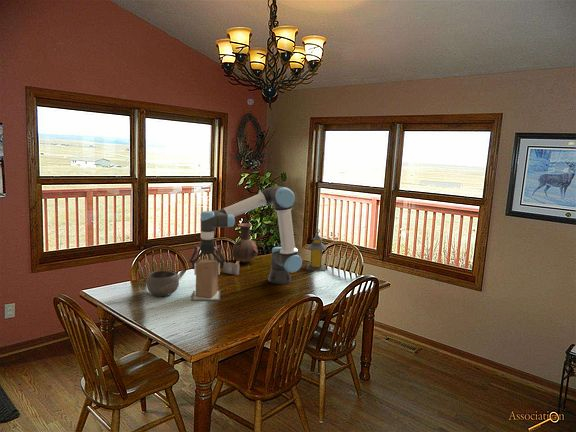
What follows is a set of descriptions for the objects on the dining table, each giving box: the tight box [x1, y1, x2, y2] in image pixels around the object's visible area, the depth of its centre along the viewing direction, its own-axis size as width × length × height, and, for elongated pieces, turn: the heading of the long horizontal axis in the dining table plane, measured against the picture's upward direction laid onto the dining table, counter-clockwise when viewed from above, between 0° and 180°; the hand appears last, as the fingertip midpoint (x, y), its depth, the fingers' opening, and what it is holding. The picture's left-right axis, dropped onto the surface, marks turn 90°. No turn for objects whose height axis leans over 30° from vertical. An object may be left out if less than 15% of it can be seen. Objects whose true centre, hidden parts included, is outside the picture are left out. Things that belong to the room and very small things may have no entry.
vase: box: [231, 222, 259, 264], centre depth 324 cm, size 25×20×30 cm
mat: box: [190, 290, 221, 302], centre depth 246 cm, size 16×16×1 cm
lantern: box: [305, 228, 327, 272], centre depth 317 cm, size 14×14×30 cm
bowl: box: [146, 269, 180, 297], centre depth 244 cm, size 18×18×13 cm
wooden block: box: [195, 259, 219, 298], centre depth 244 cm, size 10×10×20 cm
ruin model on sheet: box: [222, 260, 240, 276], centre depth 295 cm, size 11×3×10 cm, turn 67°
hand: (207, 274), depth 244 cm, fingers open, 13 cm apart
